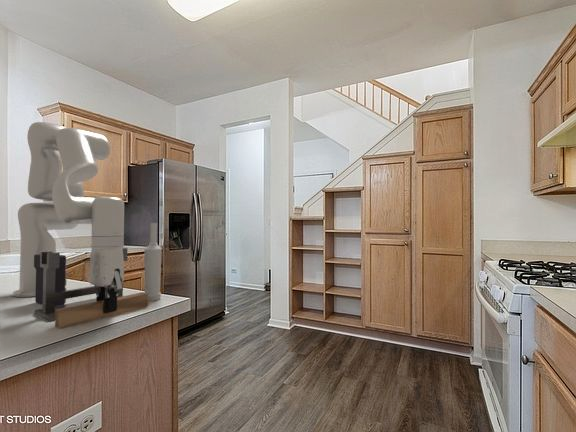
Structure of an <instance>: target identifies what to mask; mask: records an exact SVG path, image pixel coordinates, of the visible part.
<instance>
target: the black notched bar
mask: <svg viewBox="0 0 576 432" xmlns="http://www.w3.org/2000/svg"><path fill="white" fill-rule="evenodd" d="M34 267H35V269H36V293H35V296H34V297H35V298H34V301H35V304H37V305H38V304H39V305H41V306H43V269H44V268H42V267H40V254H36V255H34ZM67 275H68V273H67V257H66V255H63V254H60V263H59V268H56V274H55V292H60V291H66V290H67V287H66V286H67V279H68V278H67ZM64 304H67V299H63V300H57V301H55V306H58V305H64Z"/></svg>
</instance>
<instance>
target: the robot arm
mask: <svg viewBox="0 0 576 432" xmlns="http://www.w3.org/2000/svg"><path fill="white" fill-rule="evenodd" d="M27 143H28V144H27V145H28V148H29V152H30V157H31V158H30V165H29V173H28V180H27V181H28V182H27V193H28V196H30V197H31V198H33V199H36V200H43V201H53V202H52V203H51V202H49V203H48V202H28V203H25V204H23V205H21V206H20V207H19V209H18V210H17V220H18V225H19V232H20V253H19V254H20V259H19V289H17V290H14V291H13V294H12V296H13V297H18V298H28V297H31V298H32V297H35V293H36V269H35V267H34V255H36V254H40V252H50V251H52V252H53V253H57V251H56V249H57V244H56V240H55V238H54V237H53V236H52V234H50V232H49V231H52V230H55V231H56V230H58V231H61V230H73V229H75V228H76V227H78V225H82V224H83V225H91V235H90V236H91V240H90V241H91V242H90V243H91V244H90V246H91V252H90V256H89V264H88V278H87V280H88V282H89V284H90V285H92V286H95V288H96V294H95V295H96V302H97V301H102V300H104V305H103V313H110V312H114V311H116V310H117V296H118V292H119V290H121V289H122V283H123V284H124V279H125V261H124V259H123V249H122V248H125V247H124V246H125V244H124V242H125V240H124V239H125V236H124V235H125V202H124V201H125V200H124V199H123V198H121V197H114V196H98V197H90V196H89V197H87V196H84V193H85V192H84V190H85V189H84V183H83V182H86V181H89V180H91V179H93V178H95V177H96V176H97V174H98V173H99V167H98V164H97V161H96V160H99V161H104V160H107V158H108V157H109V156H110V153H111V145H110V142H109V140H108V139H107V137H106V136H104V135H103V134H100V133H96V132H91V131H87V130H84V129H80V128H75V127H68V126H65V125H64V126H63V125H60V124H55V123H51V122H44V121H36V122H33V123H31V125H30V126H29V127H28V129H27ZM111 283H113V284H114V285H110V284H111ZM109 288H111V289H110V291H109Z"/></svg>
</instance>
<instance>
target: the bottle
mask: <svg viewBox="0 0 576 432" xmlns="http://www.w3.org/2000/svg"><path fill="white" fill-rule="evenodd" d="M149 227H150V228H149V229H150V232H149V236H150V237H149V244H148V246H146V248H144V293H147V294H148V302H154V301H158V300H160V299H161V297H162V296H161V295H162V292H161V273H162V270H161V269H162V253H163V251H162V247H161V246H160V245H159V244H158V242H157V241H158V237H157V236H158V235H157V233H158V232H157V231H158V222H150V225H149Z"/></svg>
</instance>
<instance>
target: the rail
mask: <svg viewBox="0 0 576 432" xmlns="http://www.w3.org/2000/svg"><path fill="white" fill-rule="evenodd" d="M103 305H104V300H102V301H97V302H92V303H87V304H82V305H77V306H72V307H67V308H62V309H57V310H55V320H54V327H56V328H58V329H60V330H62V329H66V328H69V327H74V326H79V325H83V324H87V323H89V322H90V323H91V322H93V321H98V320H101V319H102V320H103V319H107V318H110V317H114V316H117V315H122V314H126V313H129V312H134V311H138V310H142V309H146V308H148V307H149V301H148V294H147V293H145V292H138V293H137V292H136V293H133V294H128V295H123V296H122V297H117V310H116V311H114V312H110V313H103Z"/></svg>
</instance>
